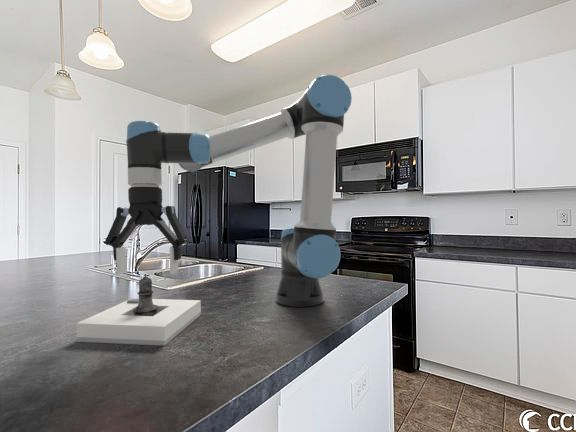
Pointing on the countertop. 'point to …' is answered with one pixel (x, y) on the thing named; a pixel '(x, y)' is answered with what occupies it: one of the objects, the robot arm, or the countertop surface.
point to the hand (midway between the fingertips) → (147, 273)
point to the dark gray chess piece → (145, 299)
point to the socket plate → (139, 323)
